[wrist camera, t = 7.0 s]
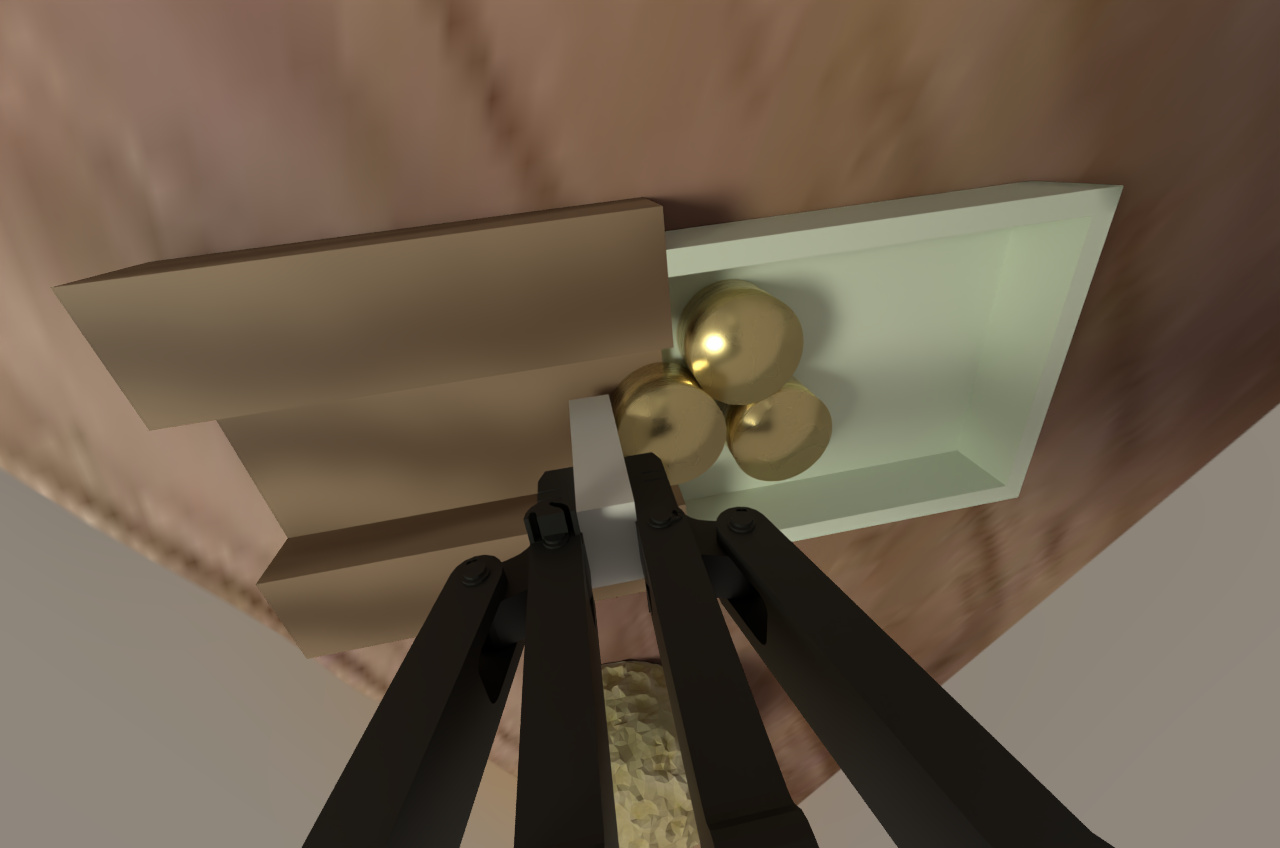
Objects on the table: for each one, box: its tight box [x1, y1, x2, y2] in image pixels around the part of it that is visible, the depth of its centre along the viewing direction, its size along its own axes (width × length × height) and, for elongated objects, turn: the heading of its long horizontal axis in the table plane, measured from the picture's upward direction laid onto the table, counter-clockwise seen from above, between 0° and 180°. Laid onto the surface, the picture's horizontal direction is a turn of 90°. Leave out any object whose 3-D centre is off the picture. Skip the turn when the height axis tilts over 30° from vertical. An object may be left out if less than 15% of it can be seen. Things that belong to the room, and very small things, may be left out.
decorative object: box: [601, 661, 700, 848], centre depth 28 cm, size 9×10×10 cm
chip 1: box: [611, 362, 727, 485], centre depth 19 cm, size 4×4×2 cm
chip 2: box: [676, 279, 804, 405], centre depth 18 cm, size 4×4×2 cm
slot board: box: [51, 197, 687, 659], centre depth 18 cm, size 15×16×4 cm
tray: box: [661, 181, 1124, 542], centre depth 20 cm, size 13×15×4 cm
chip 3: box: [717, 375, 832, 481], centre depth 20 cm, size 4×4×2 cm
